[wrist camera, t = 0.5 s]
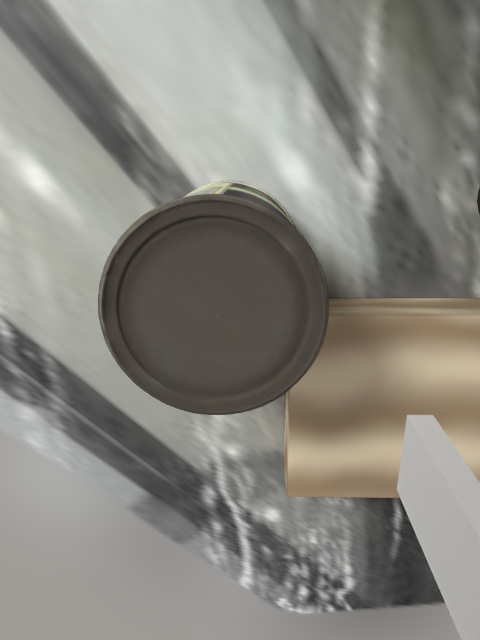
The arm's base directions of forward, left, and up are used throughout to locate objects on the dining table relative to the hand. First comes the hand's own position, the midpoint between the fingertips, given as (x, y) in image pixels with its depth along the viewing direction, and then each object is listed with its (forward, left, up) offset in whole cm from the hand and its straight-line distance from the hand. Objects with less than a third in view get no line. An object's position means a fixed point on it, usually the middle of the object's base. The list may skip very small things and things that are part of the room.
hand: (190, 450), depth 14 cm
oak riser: (+9, +12, -21) cm, 26 cm away
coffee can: (-2, 0, -22) cm, 22 cm away
